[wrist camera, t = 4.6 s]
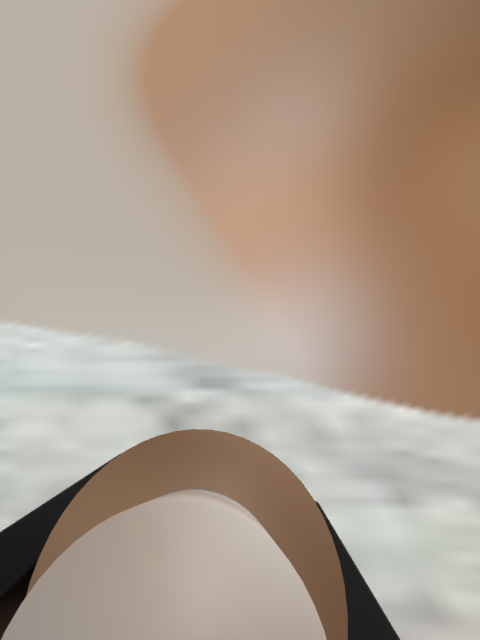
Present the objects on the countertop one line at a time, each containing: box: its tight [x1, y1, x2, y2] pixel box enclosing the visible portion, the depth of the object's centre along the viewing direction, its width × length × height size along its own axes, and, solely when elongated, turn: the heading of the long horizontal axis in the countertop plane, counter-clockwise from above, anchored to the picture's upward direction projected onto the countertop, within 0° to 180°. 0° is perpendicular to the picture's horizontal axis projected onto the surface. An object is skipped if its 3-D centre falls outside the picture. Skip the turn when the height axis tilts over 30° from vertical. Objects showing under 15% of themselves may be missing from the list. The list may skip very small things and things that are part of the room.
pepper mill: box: [1, 429, 348, 640], centre depth 8 cm, size 5×5×13 cm
